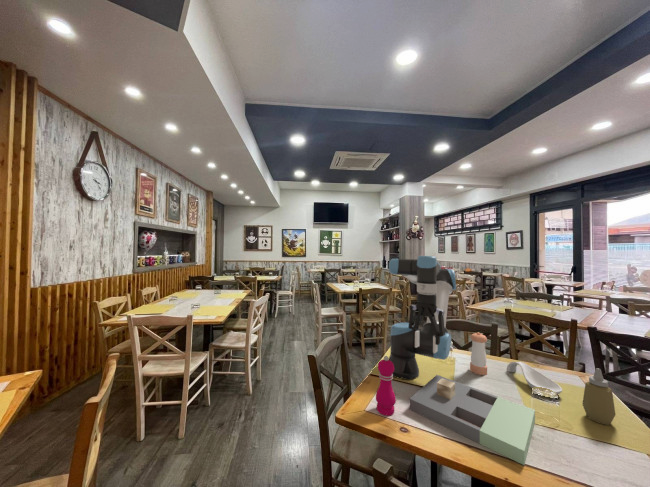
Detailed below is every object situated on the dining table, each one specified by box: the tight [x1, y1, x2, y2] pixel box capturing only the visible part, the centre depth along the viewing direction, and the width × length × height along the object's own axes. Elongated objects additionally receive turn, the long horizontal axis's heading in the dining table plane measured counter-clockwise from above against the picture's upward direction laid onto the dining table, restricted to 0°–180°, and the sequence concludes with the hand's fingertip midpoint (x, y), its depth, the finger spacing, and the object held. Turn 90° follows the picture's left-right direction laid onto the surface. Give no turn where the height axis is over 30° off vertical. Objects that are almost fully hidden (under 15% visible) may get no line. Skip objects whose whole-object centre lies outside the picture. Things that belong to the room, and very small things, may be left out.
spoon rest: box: [506, 361, 563, 395], centre depth 114 cm, size 24×12×7 cm, turn 4°
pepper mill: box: [375, 355, 397, 416], centre depth 94 cm, size 7×7×20 cm
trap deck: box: [409, 374, 536, 466], centre depth 92 cm, size 34×26×4 cm
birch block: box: [437, 378, 455, 400], centre depth 98 cm, size 5×5×4 cm
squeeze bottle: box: [582, 367, 617, 426], centre depth 91 cm, size 8×8×18 cm
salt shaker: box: [469, 331, 488, 376], centre depth 125 cm, size 7×7×19 cm
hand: (425, 349), depth 104 cm, fingers open, 7 cm apart
